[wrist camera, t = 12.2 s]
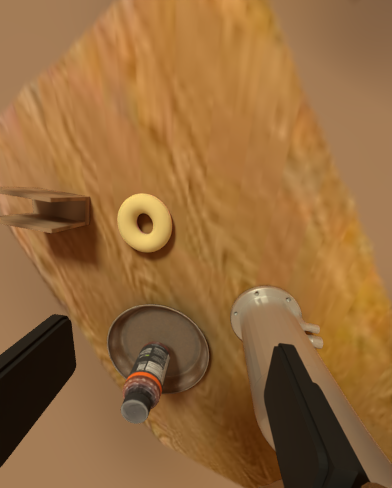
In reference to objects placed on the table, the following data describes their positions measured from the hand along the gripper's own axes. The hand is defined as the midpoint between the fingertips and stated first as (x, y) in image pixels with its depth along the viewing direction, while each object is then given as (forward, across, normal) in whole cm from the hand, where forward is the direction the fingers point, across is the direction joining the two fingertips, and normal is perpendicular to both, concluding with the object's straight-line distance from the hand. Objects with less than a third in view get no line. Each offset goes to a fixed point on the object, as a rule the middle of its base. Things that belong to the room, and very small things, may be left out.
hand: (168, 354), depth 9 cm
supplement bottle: (+24, +7, +24) cm, 34 cm away
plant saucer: (+27, +7, +24) cm, 37 cm away
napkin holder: (+27, +26, -2) cm, 38 cm away
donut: (+27, +10, -1) cm, 29 cm away
